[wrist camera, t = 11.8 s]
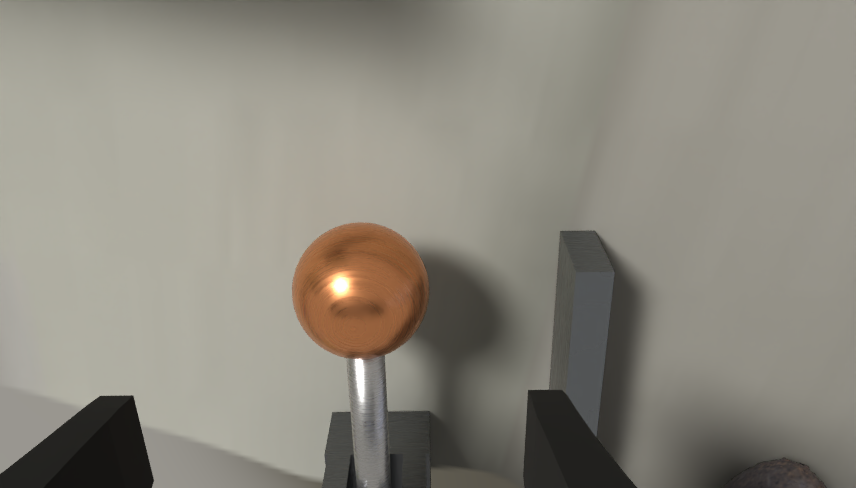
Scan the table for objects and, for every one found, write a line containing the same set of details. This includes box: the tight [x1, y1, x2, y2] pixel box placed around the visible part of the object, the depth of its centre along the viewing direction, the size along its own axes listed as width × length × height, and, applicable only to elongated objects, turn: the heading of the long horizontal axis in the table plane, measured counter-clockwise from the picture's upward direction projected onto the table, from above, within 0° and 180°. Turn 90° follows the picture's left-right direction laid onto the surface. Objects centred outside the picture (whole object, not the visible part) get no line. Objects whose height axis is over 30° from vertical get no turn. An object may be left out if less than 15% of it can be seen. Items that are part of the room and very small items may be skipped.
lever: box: [292, 223, 429, 488], centre depth 21 cm, size 3×16×3 cm, turn 1°
